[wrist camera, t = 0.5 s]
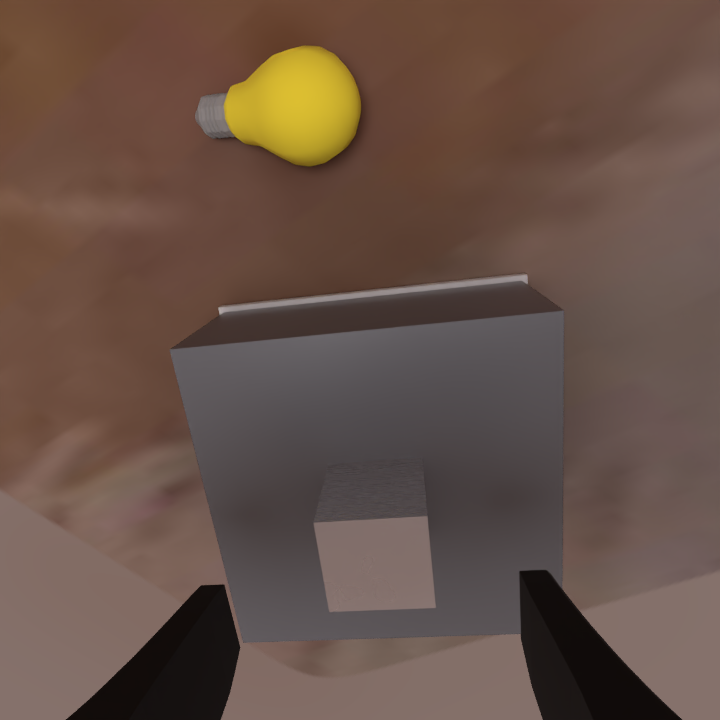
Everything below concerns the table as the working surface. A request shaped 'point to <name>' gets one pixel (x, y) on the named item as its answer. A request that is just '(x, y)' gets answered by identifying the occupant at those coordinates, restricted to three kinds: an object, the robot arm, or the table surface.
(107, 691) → the robot arm
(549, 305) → the cover
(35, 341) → the table surface
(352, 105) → the light bulb
